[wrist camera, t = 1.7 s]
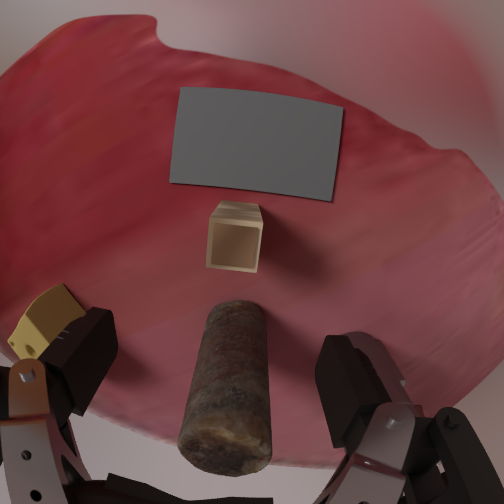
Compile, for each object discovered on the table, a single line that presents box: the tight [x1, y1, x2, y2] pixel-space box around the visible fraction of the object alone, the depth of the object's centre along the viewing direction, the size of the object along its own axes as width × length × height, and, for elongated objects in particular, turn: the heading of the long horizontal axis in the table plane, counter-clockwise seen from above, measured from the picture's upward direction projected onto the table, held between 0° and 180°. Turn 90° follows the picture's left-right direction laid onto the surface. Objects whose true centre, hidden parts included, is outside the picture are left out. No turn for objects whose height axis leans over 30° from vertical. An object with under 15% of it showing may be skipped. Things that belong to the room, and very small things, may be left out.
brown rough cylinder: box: [177, 300, 272, 477], centre depth 25 cm, size 8×7×20 cm
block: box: [206, 200, 263, 273], centre depth 26 cm, size 4×4×10 cm
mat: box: [169, 87, 343, 201], centre depth 28 cm, size 18×11×1 cm, turn 83°
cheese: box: [8, 283, 86, 360], centre depth 30 cm, size 10×11×10 cm
